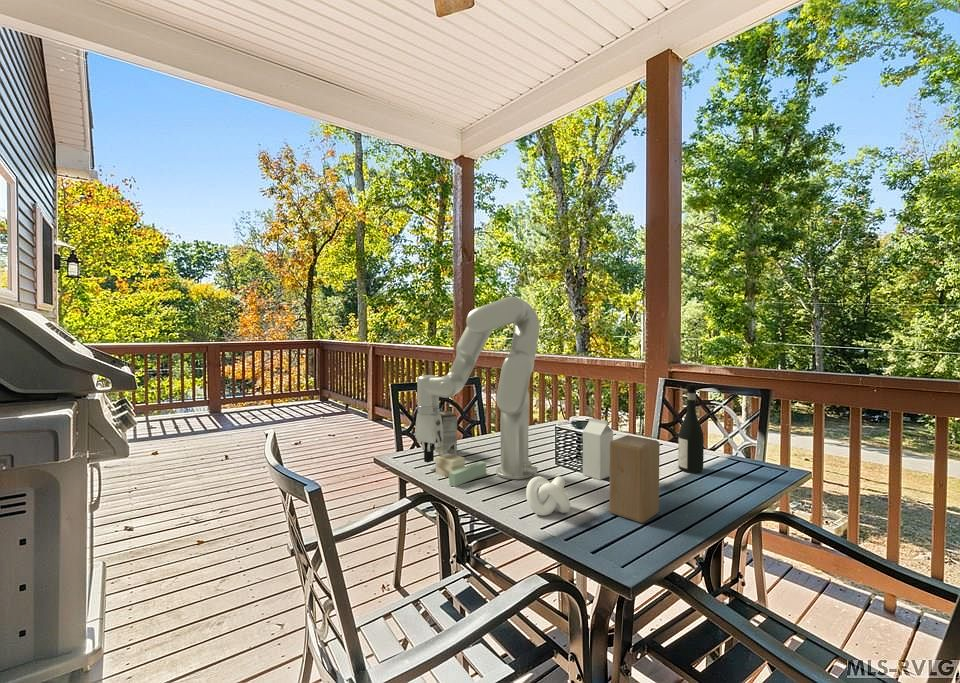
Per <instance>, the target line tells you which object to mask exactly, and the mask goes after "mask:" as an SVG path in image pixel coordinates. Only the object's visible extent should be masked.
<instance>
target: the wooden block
mask: <svg viewBox="0 0 960 683" xmlns="http://www.w3.org/2000/svg"><path fill="white" fill-rule="evenodd" d="M608 494H609V506H608V507H609V508H608V510H609V513H610V514H613V515H616V516H618V517H622V518H624V519H627V520H628V519H629V520H630V521H631V520H632V521H634V522H636V523H641V524H643V523H645V522H647V521H648V520H650V519H651V518H653V517H654V516H656V515H658V514H659V511H660V442H659V441H658V440H656V439H651V438H645V437H639V436H635V435H630V434H627V435H624V436H621V437H618V438H614V439H613V440H612V441H611V442H610V476H609V493H608Z"/></svg>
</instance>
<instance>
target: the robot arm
mask: <svg viewBox="0 0 960 683" xmlns="http://www.w3.org/2000/svg"><path fill="white" fill-rule="evenodd" d="M465 321H466V322H465V323H466V326H465V329H464V331H463V332H462V334H461V336H460V339H459V340H458V342H457V343H456V347H455V351H456V355H455V359H454V361H453V364H452V365H451V367H450V369H449V371H448V373H447V374H446V375H443V376H437V375H435V374H434V375H433V374H424V375H423V374H422V375H420V376H418V378H417V379H416V383H417V386H416V387H417V390H416V391H417V395H416V396H417V413H416V420H415V429H414V430H415V431H414V432H415V433H414V434H415V439H416V442H417V444H419V445H421V447H422V451H423V462H424V463H431V462H433V461H434V457H435V456H434V454H435V453H434V451H435V448H436V447H440V446H441V444H440V442H442V441H443V425H442V418H441V414H439V412H440V411H441V409H440V398H443V399H444V398H445V399H448V398H452V397H454V396H455V395H457V394H459V393H460V392H461V391H462V390H463V388H465V387H464V386H465V385H466V383H467V382H468V380H469V378H470V376H471V375H472V374H471V373H472V372H473V369H474V368H475V365H476V363H477V361H478V358H479V356H480V354H481V353H482V350H484V346H485V345H486V343H487V341H488V340H489V338H490V336H491V334H492V332H493V330H496V329H499V328H502V327H505V326H507V325H511V324H513V325H514V329H513V330H514V331H513V335H512V341H511V346H510V350H509V354H507V356H506V357H505V358H504V360H503V363H502V365H501V370H500V376H499V381H498V387H497V391H496V395H495V397H496V398H495V402H496V405H497V407H498V409H499V410H500V466H498V467H497V468H496V470H495V472H496V473H495V474H496V475H497V476H498V477H500V478H502V479H508V480H523V479H524V480H525V479H528V478H530V477H532V476H533V475H537V473H538V466H534V465H533V464H532V460H529V459H530V458H529V457H530V456H529V455H530V454H529V428H530V427H529V420H530V419H529V418H530V417H529V416H530V415H529V414H530V413H529V412H530V392H529V385H530V381H531V380H530V379H531V375H532V373H533V371H534V368H535V361H536V360H535V359H536V354H537V349H538V348H537V347H538V343H539V342H538V341H539V335H540V320H539V316H538V314H537V311H536V310H535V309H534V307H532V306H531V305H530V304H529V303H528V302H527V301H526V300H524V299H522V298H519V297H517V296H507V297H504V298H501V299H498V300H496V301H492V302H491V303H490V302H489V303H487V304H484V305H482V306H479V307H475V308H473V309H472V310H470V311H469V312H468V314H467V316H466V320H465Z"/></svg>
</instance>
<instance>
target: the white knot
mask: <svg viewBox="0 0 960 683" xmlns="http://www.w3.org/2000/svg"><path fill="white" fill-rule="evenodd" d="M565 485H566V481H565V478H564V477H563V476H561V475H560V476H556V477H555V478H554V479H553V480H551V482H550V481H549V480H548V479H547V478H545V477H542V476H540V475H539V476H534V477H533V478H531V479H530V480H529V481H528V483H527V486H526V489H525V493H526V501H527V504H528V506H529V508H530V509H531V511H532V512H533V513H535V514H536V515H538V516H542V517H544V516H548V515H550V514H552V513H553V512H554V511H555V510H556V511H557V512H559V513H561V514H567V513H568V512H570V510H571V502H570V499H569V497H568V495H567V494H566V492H564V488H565Z"/></svg>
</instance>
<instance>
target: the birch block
mask: <svg viewBox="0 0 960 683" xmlns="http://www.w3.org/2000/svg"><path fill="white" fill-rule="evenodd" d="M465 462H466V461H465V457H464V456H460V455H452V454H448V453H447V454H444V455H439V456H438V455H437V456H436V457H435V475H437V474H438V475H437V476H440V475H442V476H441V477H443V476H445V477H444V478H447V477H448V478H447V479H449V473H450V472H453V471H455V470H458V469H461V468H463V467H466V465H465V464H466V463H465Z"/></svg>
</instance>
